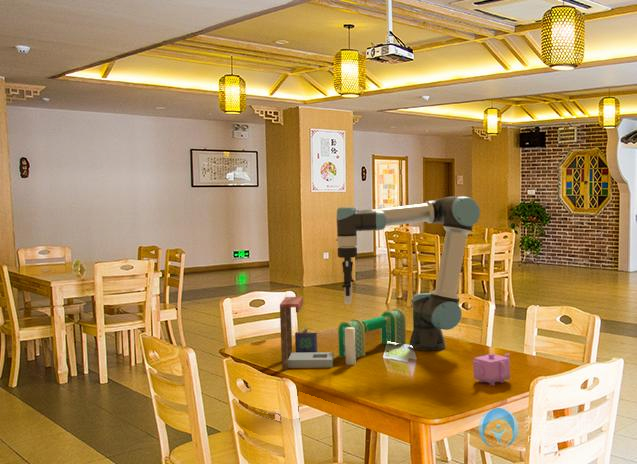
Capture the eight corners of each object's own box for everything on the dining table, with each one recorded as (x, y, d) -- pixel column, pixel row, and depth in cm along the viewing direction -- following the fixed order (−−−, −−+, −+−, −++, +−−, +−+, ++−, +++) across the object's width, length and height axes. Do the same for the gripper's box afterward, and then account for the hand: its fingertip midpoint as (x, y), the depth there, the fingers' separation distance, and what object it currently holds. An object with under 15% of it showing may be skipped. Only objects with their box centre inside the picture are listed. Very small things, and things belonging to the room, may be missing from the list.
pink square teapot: (494, 373, 244) (493, 346, 243) (523, 381, 232) (522, 353, 232) (457, 381, 234) (457, 354, 233) (486, 390, 223) (485, 361, 222)
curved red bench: (304, 358, 274) (302, 296, 273) (300, 369, 256) (298, 304, 255) (287, 358, 275) (285, 296, 273) (282, 369, 257) (279, 304, 255)
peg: (356, 362, 265) (355, 327, 264) (355, 365, 261) (354, 329, 260) (345, 362, 265) (344, 327, 264) (345, 365, 261) (344, 329, 260)
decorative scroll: (354, 359, 270) (353, 322, 269) (338, 356, 276) (337, 320, 275) (406, 343, 296) (405, 309, 295) (390, 340, 302) (389, 307, 301)
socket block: (333, 359, 270) (333, 352, 270) (332, 367, 258) (331, 359, 258) (291, 360, 272) (291, 352, 271) (288, 367, 260) (287, 360, 260)
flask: (317, 352, 283) (316, 327, 283) (317, 354, 280) (316, 328, 280) (295, 352, 284) (294, 327, 283) (295, 354, 281) (294, 329, 280)
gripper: (339, 244, 273) (340, 296, 274) (335, 249, 248) (337, 307, 249) (357, 244, 272) (358, 296, 274) (356, 249, 248) (357, 306, 249)
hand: (348, 301), depth 262 cm, fingers open, 13 cm apart
